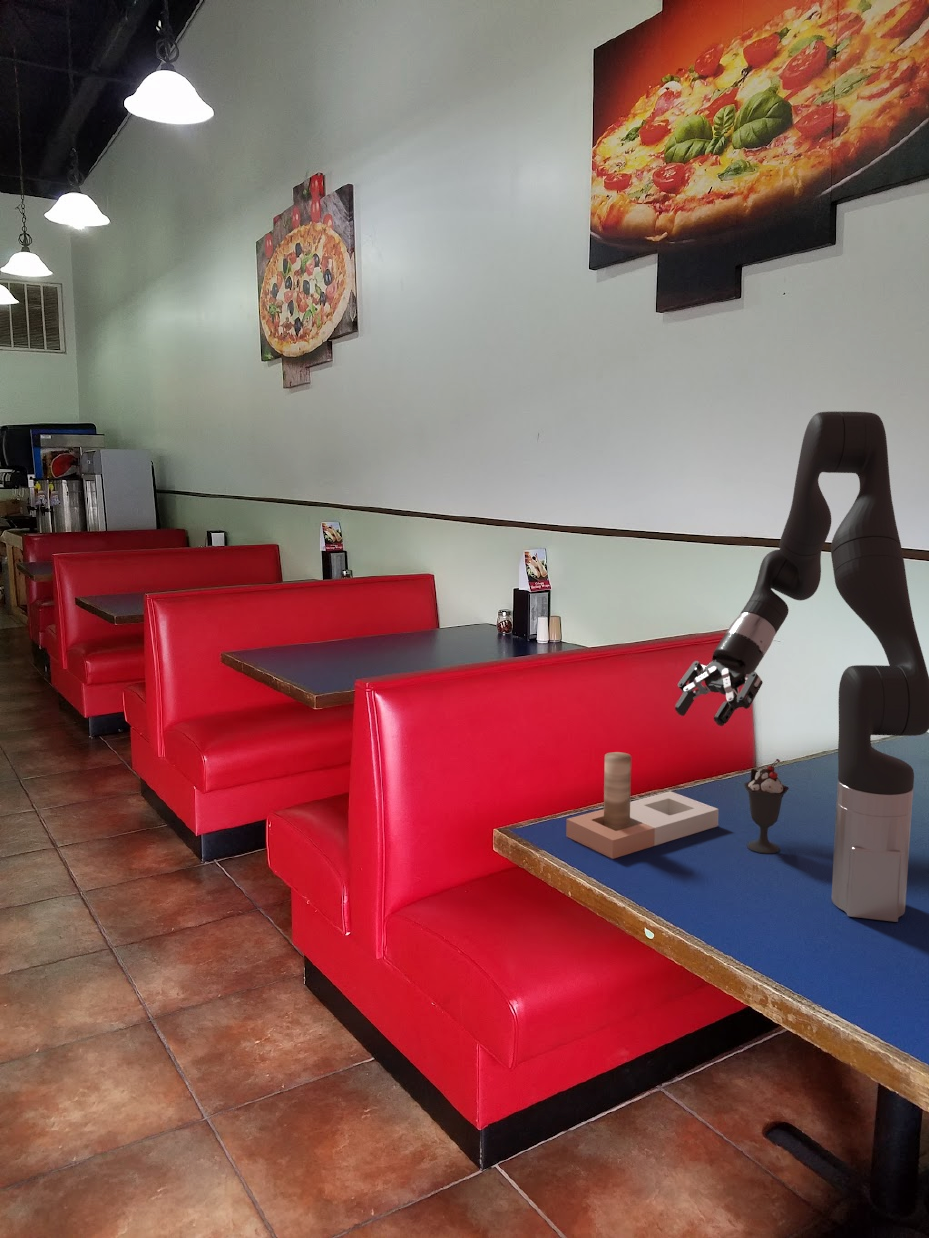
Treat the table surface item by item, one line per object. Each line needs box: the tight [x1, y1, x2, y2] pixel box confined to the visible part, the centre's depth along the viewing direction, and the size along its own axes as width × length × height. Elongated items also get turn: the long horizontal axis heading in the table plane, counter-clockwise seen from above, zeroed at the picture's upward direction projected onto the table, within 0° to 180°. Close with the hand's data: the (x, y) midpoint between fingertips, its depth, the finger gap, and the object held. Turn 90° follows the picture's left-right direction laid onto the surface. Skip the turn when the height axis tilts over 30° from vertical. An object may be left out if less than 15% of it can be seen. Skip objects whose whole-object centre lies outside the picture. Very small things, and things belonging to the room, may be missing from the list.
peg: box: [603, 751, 632, 831], centre depth 146 cm, size 4×4×14 cm
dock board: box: [565, 790, 720, 860], centre depth 150 cm, size 24×11×3 cm, turn 124°
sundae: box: [743, 758, 789, 855], centre depth 142 cm, size 7×7×15 cm
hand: (697, 717), depth 153 cm, fingers open, 8 cm apart
